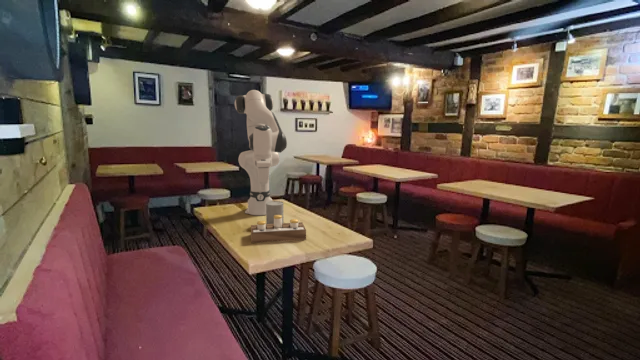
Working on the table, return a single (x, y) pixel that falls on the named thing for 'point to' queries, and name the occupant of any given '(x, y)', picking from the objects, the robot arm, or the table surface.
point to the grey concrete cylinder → (273, 211)
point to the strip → (278, 229)
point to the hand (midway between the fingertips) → (263, 189)
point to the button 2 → (293, 223)
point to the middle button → (277, 221)
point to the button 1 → (261, 225)
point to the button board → (277, 234)
